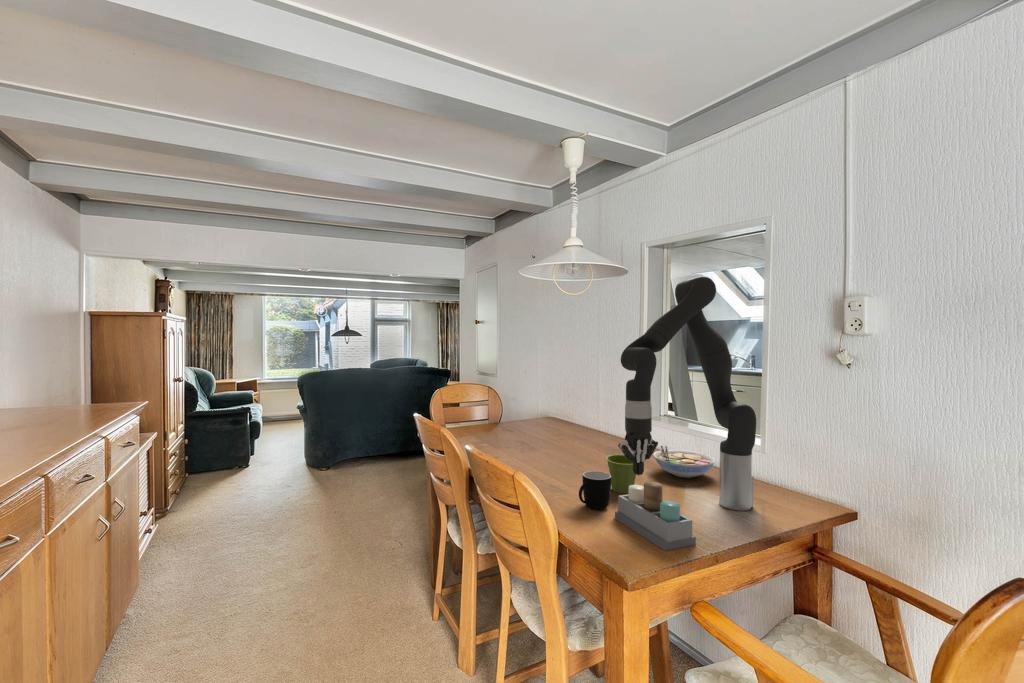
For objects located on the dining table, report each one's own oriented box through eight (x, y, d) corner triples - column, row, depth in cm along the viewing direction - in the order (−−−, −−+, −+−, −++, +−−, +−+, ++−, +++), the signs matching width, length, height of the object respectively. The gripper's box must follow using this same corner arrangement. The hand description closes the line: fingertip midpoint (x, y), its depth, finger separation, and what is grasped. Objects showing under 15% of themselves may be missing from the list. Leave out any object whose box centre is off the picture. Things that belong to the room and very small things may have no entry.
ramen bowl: (720, 488, 161) (720, 466, 161) (653, 482, 168) (653, 460, 168) (710, 469, 185) (710, 449, 185) (652, 464, 192) (652, 445, 192)
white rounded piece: (638, 505, 136) (639, 484, 136) (649, 511, 131) (649, 489, 131) (625, 507, 134) (625, 485, 134) (635, 513, 129) (635, 491, 129)
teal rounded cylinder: (670, 523, 123) (671, 499, 123) (684, 531, 118) (684, 506, 118) (655, 526, 121) (656, 502, 121) (668, 534, 116) (668, 508, 116)
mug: (596, 499, 149) (596, 469, 149) (616, 508, 142) (617, 476, 142) (569, 507, 142) (569, 475, 142) (589, 516, 135) (590, 483, 135)
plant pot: (603, 494, 154) (603, 461, 154) (607, 483, 166) (607, 453, 165) (639, 498, 151) (639, 465, 150) (641, 487, 162) (641, 456, 162)
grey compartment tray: (642, 513, 138) (642, 492, 138) (695, 544, 118) (696, 519, 118) (614, 517, 135) (615, 496, 134) (664, 550, 114) (664, 525, 114)
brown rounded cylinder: (654, 503, 129) (654, 481, 129) (666, 510, 125) (666, 486, 125) (639, 506, 127) (640, 483, 127) (651, 512, 123) (651, 488, 123)
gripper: (648, 411, 138) (648, 468, 138) (611, 414, 133) (611, 473, 133) (665, 415, 131) (665, 475, 131) (627, 419, 126) (627, 480, 126)
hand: (638, 474), depth 132 cm, fingers closed
